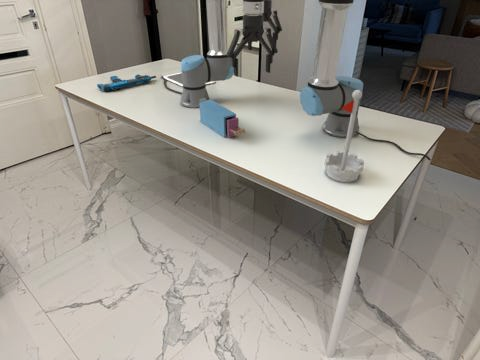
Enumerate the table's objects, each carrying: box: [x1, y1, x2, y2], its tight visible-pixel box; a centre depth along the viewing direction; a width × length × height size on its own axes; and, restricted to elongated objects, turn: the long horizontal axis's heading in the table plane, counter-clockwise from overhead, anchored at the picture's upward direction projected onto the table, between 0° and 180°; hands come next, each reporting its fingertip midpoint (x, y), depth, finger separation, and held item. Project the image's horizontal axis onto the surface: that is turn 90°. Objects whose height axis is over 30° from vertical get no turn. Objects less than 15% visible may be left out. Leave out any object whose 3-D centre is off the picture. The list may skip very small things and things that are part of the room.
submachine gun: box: [96, 74, 157, 92], centre depth 207 cm, size 34×4×25 cm
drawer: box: [225, 117, 246, 138], centre depth 146 cm, size 25×5×8 cm, turn 34°
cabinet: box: [199, 99, 237, 138], centre depth 151 cm, size 21×6×9 cm, turn 34°
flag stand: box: [323, 90, 365, 183], centre depth 111 cm, size 13×13×30 cm
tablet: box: [160, 71, 217, 88], centre depth 213 cm, size 32×20×1 cm, turn 41°
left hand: (252, 73), depth 134 cm, fingers open, 13 cm apart
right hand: (262, 48), depth 166 cm, fingers open, 13 cm apart
